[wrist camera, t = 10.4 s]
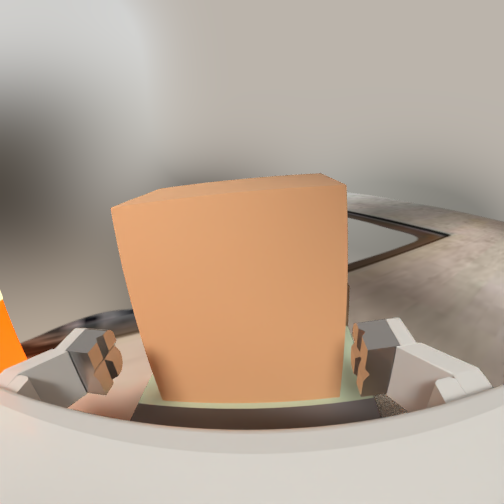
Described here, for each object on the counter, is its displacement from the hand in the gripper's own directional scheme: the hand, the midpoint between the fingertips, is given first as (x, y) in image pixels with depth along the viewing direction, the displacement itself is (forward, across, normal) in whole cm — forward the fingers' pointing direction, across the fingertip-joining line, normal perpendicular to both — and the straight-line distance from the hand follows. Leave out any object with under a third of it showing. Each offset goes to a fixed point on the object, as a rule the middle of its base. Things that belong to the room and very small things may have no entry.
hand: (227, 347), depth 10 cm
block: (+6, 0, +6) cm, 8 cm away
